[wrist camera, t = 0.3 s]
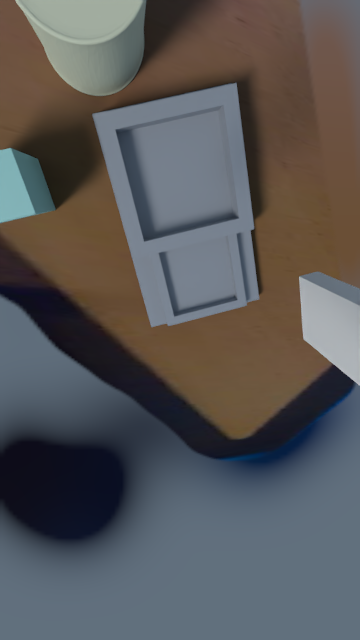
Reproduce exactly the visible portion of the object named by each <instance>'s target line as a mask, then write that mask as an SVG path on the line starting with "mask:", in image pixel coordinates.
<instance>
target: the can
mask: <svg viewBox="0 0 360 640" xmlns="http://www.w3.org/2000/svg"><path fill="white" fill-rule="evenodd" d="M15 1H16V2H17V4H18V5H19V6H20V8H21V9H22V10H23V12H24V14H25V15H26V17H27V19H28V20H29V22H30V24H31V25H32V27H33V29H34V30H35V32H36V34H37V36H38V37H39V39H40V41H41V43H42V44H43V46H44V49H45V52H46V54H47V57H48V59H49V60H50V62H51V64H52V66H53V67H54V69H55V70H56V72H57V73H58V74H59V75H60V76H61V77H62V79H63V80H65V81H66V82H67V83H68V84H69V85H70V86H72V87H73V88H75V89H77V90H78V91H80V92H83V93H85V94H89V95H94V96H107V95H111V94H114V93H117V92H119V91H120V90H122V89H123V88H125V87H126V86H127V85H128V84H129V83H130V82H131V81H132V80H133V78H134V77H135V75H136V74H137V72H138V70H139V67H140V65H141V62H142V58H143V53H144V19H145V8H146V0H15Z"/></svg>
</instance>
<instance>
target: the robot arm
mask: <svg viewBox="0 0 360 640" xmlns="http://www.w3.org/2000/svg"><path fill="white" fill-rule="evenodd" d="M299 282H300V296H301V311H302V325H303V339H304V340H305V341H307V342H308V343H309V344H310V345H311V346H313V347H314V348H315V349H316V350H317V351H319V352H320V353H321V354H322V355H323V356H325V357H326V358H327V359H328V360H329V361H331V362H332V363H333V364H334V365H336V366H337V367H338V368H339V369H340V370H342V371H343V372H344V373H345V374H346V375H348V376H349V377H350V378H351V379H352V380H354V381H355V382H356V383H357V384H358V385H360V289H359V288H356V287H354V286H352V285H349V284H347V283H344V282H342V281H339V280H337V279H335V278H332V277H330V276H327V275H325V274H322V273H320V272H314V273H310V274H307V275H303V276H299Z"/></svg>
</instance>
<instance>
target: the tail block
mask: <svg viewBox="0 0 360 640" xmlns="http://www.w3.org/2000/svg"><path fill="white" fill-rule="evenodd" d="M54 210H56V209H55V206H54V203H53V200H52V198H51V195H50V192H49V189H48V186H47V183H46V181H45V178H44V175H43V172H42V169H41V166H40V163H39V161H38V159H37V158H35V157H32V156H30V155H27V154H25V153H22V152H20V151H17V150H15V149H12V148H8V149H4V150H0V223H2V222H7V221H11V220H16V219H20V218H24V217H28V216H32V215H37V214H41V213H45V212H49V211H54Z"/></svg>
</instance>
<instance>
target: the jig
mask: <svg viewBox="0 0 360 640" xmlns="http://www.w3.org/2000/svg"><path fill="white" fill-rule="evenodd" d="M92 115H93V119H94V123H95V126H96V130H97V133H98V137H99V141H100V144H101V148H102V151H103V155H104V159H105V162H106V166H107V169H108V173H109V176H110V180H111V184H112V187H113V191H114V194H115V198H116V202H117V205H118V209H119V212H120V216H121V220H122V223H123V227H124V230H125V234H126V238H127V241H128V245H129V248H130V252H131V256H132V259H133V263H134V266H135V270H136V273H137V277H138V281H139V284H140V288H141V291H142V295H143V299H144V302H145V306H146V309H147V313H148V317H149V320H150V324H151V327H154V326H158V325H162V324H166V323H167V324H168V326H171V325H174V324H178V323H182V322H186V321H190V320H194V319H197V318H201V317H205V316H209V315H213V314H216V313H220V312H224V311H228V310H232V309H235V308H239V307H243V306H247V303H246V302H250V301H254V300H257V299H259V293H258V285H257V277H256V270H255V262H254V254H253V246H252V238H251V230H253V229H254V223H253V214H252V206H251V198H250V190H249V182H248V173H247V165H246V157H245V149H244V141H243V133H242V124H241V116H240V108H239V100H238V92H237V83H234V84H232V83H230V84H225V85H221V86H216V87H212V88H207V89H203V90H198V91H194V92H189V93H185V94H180V95H175V96H171V97H166V98H162V99H157V100H153V101H148V102H144V103H139V104H135V105H130V106H126V107H121V108H117V109H112V110H108V111H103V112H99V113H94V114H92Z"/></svg>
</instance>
